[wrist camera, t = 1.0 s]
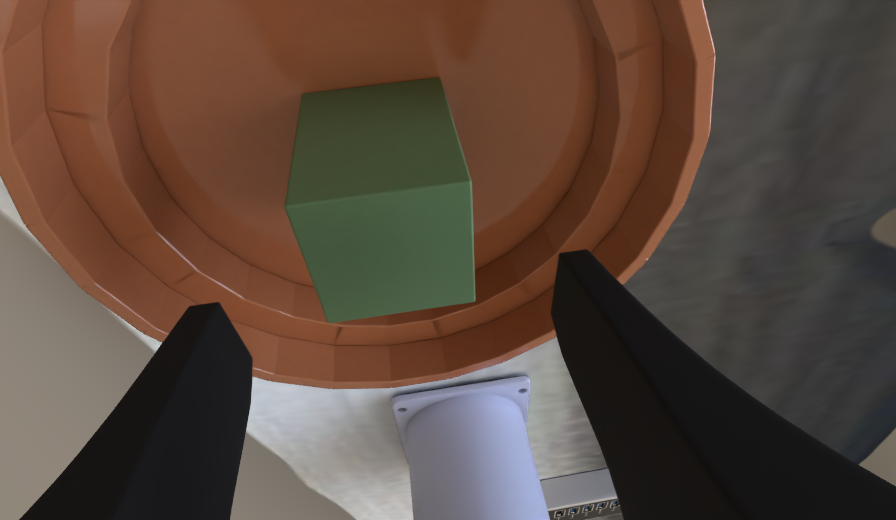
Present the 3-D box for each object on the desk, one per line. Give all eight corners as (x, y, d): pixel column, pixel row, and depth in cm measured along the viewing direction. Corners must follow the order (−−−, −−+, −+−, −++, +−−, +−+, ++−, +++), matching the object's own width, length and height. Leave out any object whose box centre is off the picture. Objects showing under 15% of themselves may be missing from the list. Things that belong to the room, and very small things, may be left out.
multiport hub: (641, 480, 44) (653, 508, 42) (521, 502, 43) (527, 531, 42) (652, 460, 41) (665, 488, 39) (522, 483, 40) (529, 513, 38)
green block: (448, 188, 18) (476, 302, 14) (332, 203, 18) (327, 324, 14) (440, 75, 15) (472, 181, 11) (300, 93, 15) (283, 206, 11)
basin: (598, 281, 23) (633, 350, 20) (215, 338, 22) (195, 419, 19) (730, -279, 11) (867, -300, 8) (-148, -208, 10) (-357, -203, 7)
